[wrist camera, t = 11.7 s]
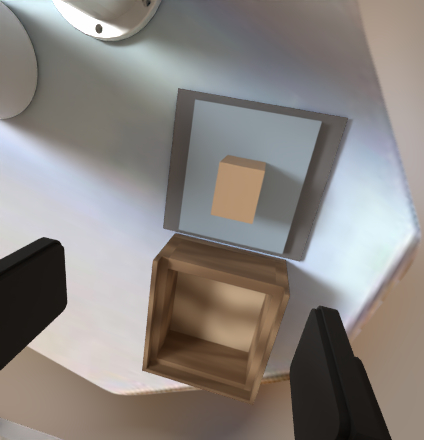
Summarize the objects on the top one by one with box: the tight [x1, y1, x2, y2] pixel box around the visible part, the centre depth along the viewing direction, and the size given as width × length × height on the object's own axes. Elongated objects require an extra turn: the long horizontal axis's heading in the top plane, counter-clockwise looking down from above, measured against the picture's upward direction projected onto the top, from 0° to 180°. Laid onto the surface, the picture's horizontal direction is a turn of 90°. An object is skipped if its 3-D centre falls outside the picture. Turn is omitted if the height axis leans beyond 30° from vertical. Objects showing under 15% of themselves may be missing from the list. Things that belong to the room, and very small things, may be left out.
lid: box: [179, 99, 322, 254], centre depth 27 cm, size 14×12×6 cm
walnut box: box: [142, 233, 290, 405], centre depth 33 cm, size 16×14×7 cm
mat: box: [163, 88, 348, 261], centre depth 30 cm, size 16×17×1 cm
